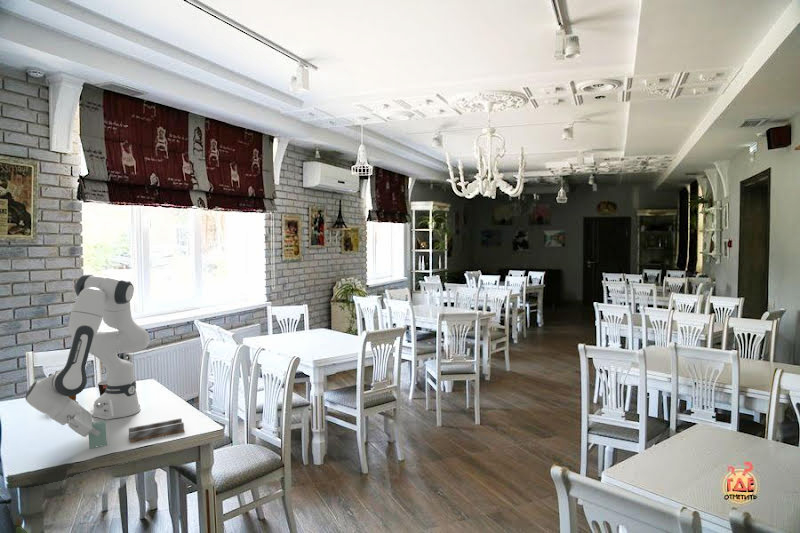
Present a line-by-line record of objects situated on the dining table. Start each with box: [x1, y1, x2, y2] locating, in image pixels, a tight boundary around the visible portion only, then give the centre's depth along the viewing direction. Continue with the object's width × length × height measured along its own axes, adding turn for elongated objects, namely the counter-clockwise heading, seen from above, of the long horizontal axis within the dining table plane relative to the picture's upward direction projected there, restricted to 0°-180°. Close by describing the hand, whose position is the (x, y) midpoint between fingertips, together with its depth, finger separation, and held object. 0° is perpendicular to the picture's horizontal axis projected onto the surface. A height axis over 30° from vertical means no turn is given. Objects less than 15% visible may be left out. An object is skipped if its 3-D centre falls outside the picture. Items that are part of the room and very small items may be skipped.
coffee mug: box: [97, 379, 108, 397], centre depth 260 cm, size 12×9×10 cm
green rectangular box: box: [87, 420, 108, 449], centre depth 207 cm, size 6×2×9 cm, turn 120°
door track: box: [128, 417, 185, 444], centre depth 217 cm, size 20×9×4 cm, turn 120°
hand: (99, 432), depth 207 cm, fingers closed on green rectangular box, 2 cm apart
